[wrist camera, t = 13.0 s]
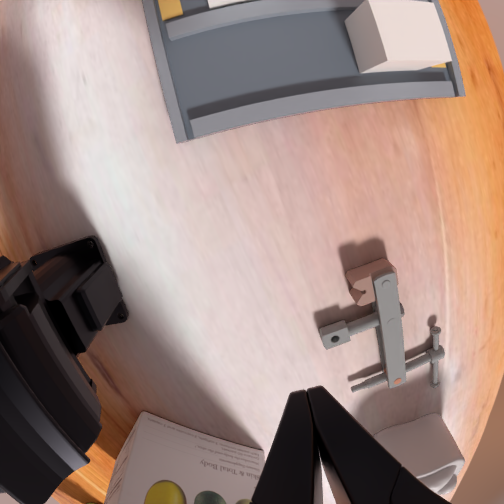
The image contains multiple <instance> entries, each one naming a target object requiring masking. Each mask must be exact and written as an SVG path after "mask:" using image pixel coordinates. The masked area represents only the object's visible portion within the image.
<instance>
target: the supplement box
mask: <svg viewBox="0 0 504 504" xmlns="http://www.w3.org/2000/svg"><path fill="white" fill-rule="evenodd" d="M264 465H265V456H264V451H262V450H257V449H254V448H250V447H246V446H243V445H239V444H236V443H232V442H229V441H225V440H222V439H219V438H216V437H213V436H210V435H207V434H204V433H201V432H198V431H195V430H192V429H189V428H186V427H184V426H181V425H178V424H175V423H173V422H170V421H168V420H165V419H163V418H160V417H158V416H155V415H153V414H150V413H148V412H145V411H142V412H141V414H140V416H139V417H138V419H137V421H136V423H135V425H134V427H133V428H132V430H131V432H130V434H129V436H128V438H127V440H126V441H125V443H124V445H123V447H122V449H121V451H120V453H119V455H118V457H117V459H116V461H115V466H114V470H113V473H112V477H111V480H110V484H109V487H108V491H107V494H106V498H105V502H104V504H249V503H250V502H252V501H251V498H252V496H253V493H254V491H255V488H256V486H257V483H258V481H259V478H260V475H261V473H262V470H263V468H264Z"/></svg>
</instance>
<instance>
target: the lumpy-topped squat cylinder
mask: <svg viewBox="0 0 504 504" xmlns="http://www.w3.org/2000/svg"><path fill="white" fill-rule="evenodd" d="M373 437H374V438H375V439H376V440H377V441H378V442H379V443H380V444H381V445H382V446H383V447H384V448H385V449H386V450H387V451H388V452H389V453H390V454H391V455H393V456H394V457H395V458H396V459H397V460H398V461H399V462H400V463H401V464H402V466H404V467H405V468H406V469H408V470H409V471H410V472H411V473H412V474H413V475H414V476H415V477H416V478H417V479H419V480H420V481H421V482H422V483H423V484H424V485H426V486H427V487H428V488H429V489H431V490H432V491H434V492H435V493H436V494H440V495H441V494H447V493H449V492H451V491H452V490H453V489H454V488H455V486H456V483H457V475H458V474H459V472H460V470H461V469H462V467H463V465H464V463H465V459H464V457H463V455H462V454H461V452H460V450H459V448H458V446H457V444H456V442H455V441H454V439H453V437H452V435H451V433H450V431H449V430H448V428H447V426H446V424H445V423H444V421H443V419H442V417H441V416H440V415H439V414H437V413H432V414H428V415H425V416H423V417H421V418H418V419H416V420H414V421H411V422H408V423H404V424H400V425H395V426H392V427H389V428H386V429H384V430H382V431H380V432H379V433H377V434H376V435H374V436H373Z"/></svg>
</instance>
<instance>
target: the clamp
mask: <svg viewBox="0 0 504 504" xmlns="http://www.w3.org/2000/svg"><path fill="white" fill-rule="evenodd" d="M345 276H346V278H347V279H348V281H349V282H350V284H351V285H352V288H351V290H350V292H349V293H350V294H351V296H352V298H353V299H354V301H355V302H356V304H357V305H359V306H364V305H366V304H369V303H372V308H373V313H372V314H370V315H367V316H365V317H362V318H360V319H357V320H354V321H352V322H349V323H345V321H344V320H342V321H339V322H336V323H333V324H331V325H328V326H325V327H322V328H320V330H319V332H320V337H321V340H322V342H323V345H324V347H325V348H326V350H327V349H330V348H332V347H335V346H338V345H341V344H343V343H346V342H349V341H350V336H352V335H355V334H357V333H360V332H363V331H365V330H368V329H370V328H373V327H375V326H376V331H377V337H378V344H379V350H380V357H381V364H382V371H383V373H382V374H379V375H377V376H374V377H372V378H369V379H367V380H365V381H364V382H361V383H360V384H358V385H355V386H352V387H351V390H352V392H355V391H358V390H361V389H365V388H370V387H373V386H375V385H378V384H380V383H383V382H385V381H388V387H389V388H390V389H391V388H394V387H397V386H399V385H401V384H403V383H405V382H406V372H408V371H411V370H413V369H415V368H417V367H419V366H421V365H423V364H426V363H428V362H430V363H431V364H432V363H433V380H432V381H431V383H430V386H431V387H433V388H436V387H438V386H439V384H440V382H439V380H438V360H440V359H442V358H444V355H445V352H444V349H443V347H442V346H441V345H439V334H440V333H441V329H440V327H437V326H436V327H433V328H431V330H430V333H431V334H432V335H433V348H431V349H429V350H427V351H426V354H425V355H423V356H421V357H419V358H416V359H414V360H412V361H410V362H408V363H405V353H404V340H403V329H402V320H401V317H403V316H404V309H403V306H402V304H401V303H400V302H399V295H398V288H397V285H398V277H397V271H396V268H395V267H394V266H393V265H392V264H391V263H390V262H389V261H387V260H385V259H383V258H381V259H379V260H376V261H373V262H371V263H368V264H366V265H363V266H359V267H356V268H354V269H351V270H348V271H347V273H346V275H345Z"/></svg>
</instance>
